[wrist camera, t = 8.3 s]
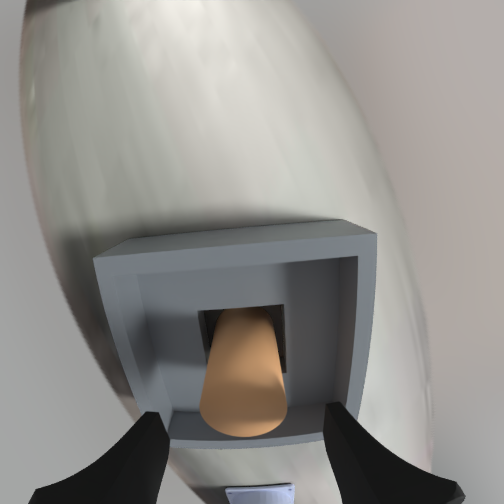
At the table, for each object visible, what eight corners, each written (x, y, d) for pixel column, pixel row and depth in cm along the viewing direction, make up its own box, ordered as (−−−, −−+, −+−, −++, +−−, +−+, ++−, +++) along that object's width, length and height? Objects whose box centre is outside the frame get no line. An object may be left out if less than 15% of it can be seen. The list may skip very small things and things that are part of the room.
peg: (275, 350, 20) (288, 433, 12) (220, 355, 20) (208, 437, 12) (271, 300, 19) (286, 374, 11) (211, 305, 19) (191, 380, 11)
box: (337, 391, 21) (354, 433, 16) (169, 403, 21) (156, 445, 16) (344, 219, 18) (377, 233, 13) (129, 238, 18) (92, 257, 13)
